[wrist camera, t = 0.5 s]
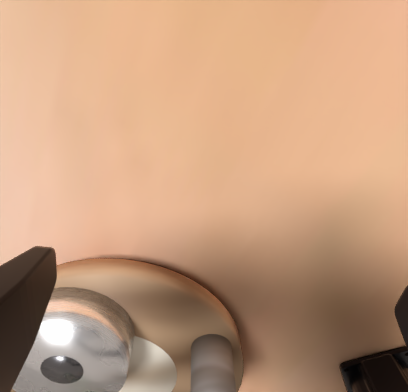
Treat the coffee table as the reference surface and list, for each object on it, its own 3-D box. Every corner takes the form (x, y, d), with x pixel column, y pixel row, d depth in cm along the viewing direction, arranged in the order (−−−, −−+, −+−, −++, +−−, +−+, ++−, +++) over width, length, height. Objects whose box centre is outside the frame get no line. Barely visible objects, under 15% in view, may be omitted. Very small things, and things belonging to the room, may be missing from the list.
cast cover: (153, 350, 24) (148, 391, 22) (60, 377, 26) (43, 419, 23) (98, 272, 21) (84, 309, 18) (-7, 308, 22) (-35, 347, 19)
